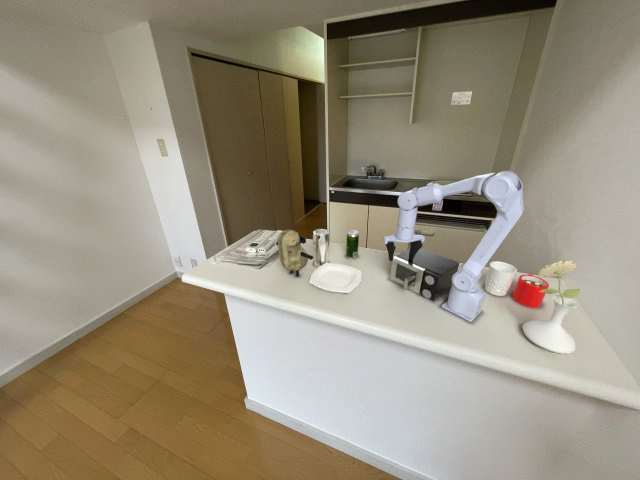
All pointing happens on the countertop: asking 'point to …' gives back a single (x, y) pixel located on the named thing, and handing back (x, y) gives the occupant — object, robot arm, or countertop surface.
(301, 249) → the figurine
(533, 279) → the mug
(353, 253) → the beer can
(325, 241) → the silver metal tumbler
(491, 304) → the countertop surface
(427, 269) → the microwave
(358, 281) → the plate
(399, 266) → the microwave door
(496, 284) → the white cup
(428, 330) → the countertop surface
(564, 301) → the flower in vase
